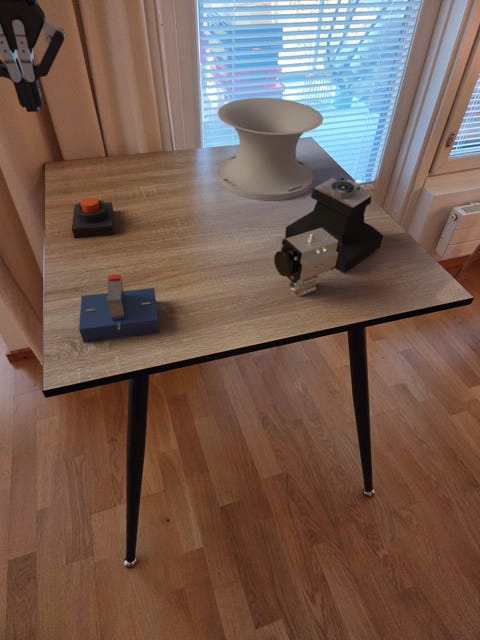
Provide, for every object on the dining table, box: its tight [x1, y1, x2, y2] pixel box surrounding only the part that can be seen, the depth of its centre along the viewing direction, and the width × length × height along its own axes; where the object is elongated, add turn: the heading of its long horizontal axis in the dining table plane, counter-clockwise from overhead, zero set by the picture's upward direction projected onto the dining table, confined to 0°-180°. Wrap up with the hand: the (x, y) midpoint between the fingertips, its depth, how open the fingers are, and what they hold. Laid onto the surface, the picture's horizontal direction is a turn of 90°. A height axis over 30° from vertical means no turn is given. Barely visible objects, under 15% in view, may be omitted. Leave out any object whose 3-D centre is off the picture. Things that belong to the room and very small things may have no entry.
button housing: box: [71, 199, 115, 239], centre depth 89 cm, size 8×10×4 cm
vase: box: [217, 97, 324, 202], centre depth 104 cm, size 25×25×16 cm
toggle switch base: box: [78, 287, 161, 343], centre depth 69 cm, size 12×10×3 cm
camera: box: [284, 177, 384, 274], centre depth 84 cm, size 16×14×15 cm
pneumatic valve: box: [273, 227, 343, 297], centre depth 73 cm, size 6×12×12 cm, turn 120°
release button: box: [80, 196, 100, 212], centre depth 87 cm, size 4×4×2 cm
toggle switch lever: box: [107, 274, 125, 320], centre depth 66 cm, size 6×2×4 cm, turn 12°
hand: (33, 109), depth 58 cm, fingers closed
